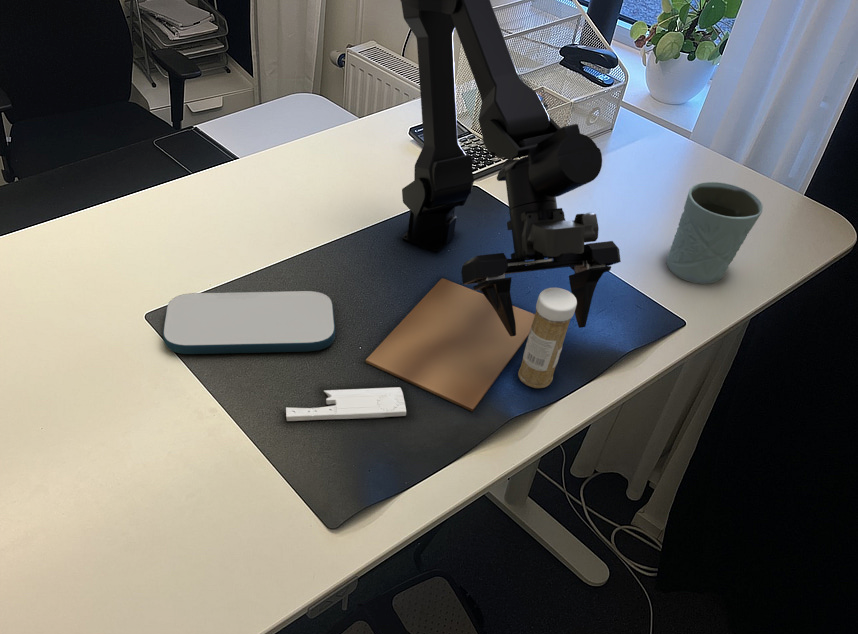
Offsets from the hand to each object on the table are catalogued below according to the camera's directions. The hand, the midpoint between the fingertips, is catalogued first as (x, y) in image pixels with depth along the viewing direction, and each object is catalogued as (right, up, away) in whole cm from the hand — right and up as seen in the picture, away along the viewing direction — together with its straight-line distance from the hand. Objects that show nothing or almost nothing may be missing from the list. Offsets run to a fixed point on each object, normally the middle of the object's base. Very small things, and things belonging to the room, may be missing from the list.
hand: (547, 331), depth 95 cm
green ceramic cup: (+30, +12, +23) cm, 40 cm away
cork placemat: (-10, 0, +11) cm, 14 cm away
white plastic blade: (-25, -9, +2) cm, 27 cm away
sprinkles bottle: (0, -6, +6) cm, 8 cm away
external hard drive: (-38, +1, +12) cm, 40 cm away
